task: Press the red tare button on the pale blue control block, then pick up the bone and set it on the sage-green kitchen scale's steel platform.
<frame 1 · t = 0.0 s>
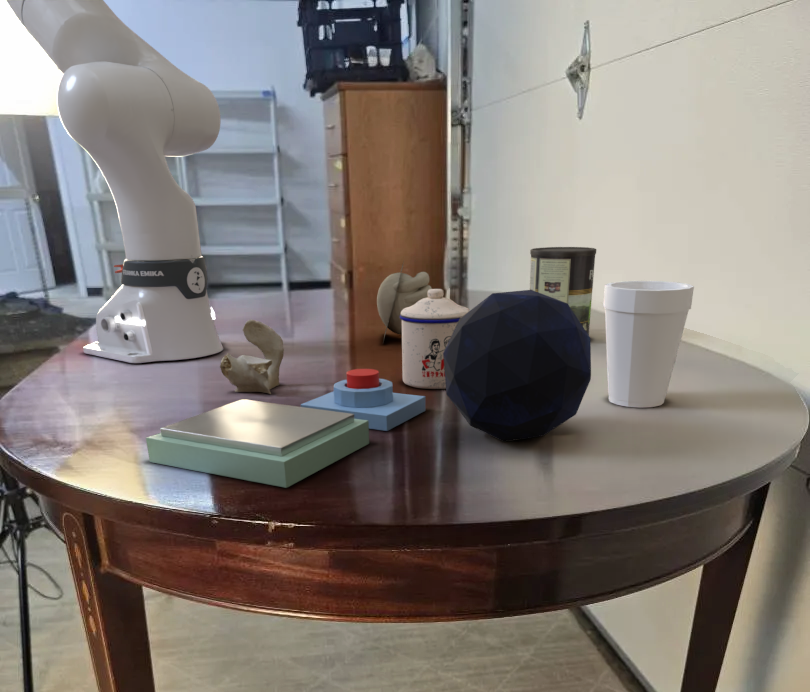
decorative orb: (514, 436, 79), on the table
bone: (259, 392, 98), on the table
decorative object: (407, 340, 130), on the table
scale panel: (364, 415, 87), on the table
tare button: (363, 379, 86), point 4 cm above the table, slide at 0.1 cm
coffee can: (557, 340, 128), on the table
teacup with lid: (444, 382, 102), on the table
scale: (262, 452, 75), on the table
foam cup: (635, 402, 91), on the table
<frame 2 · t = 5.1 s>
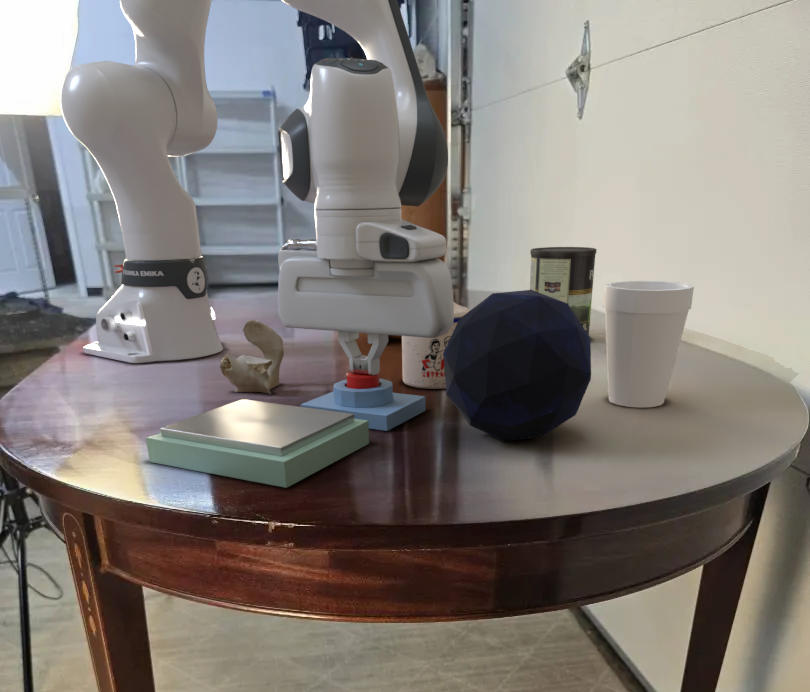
hand: (364, 373, 85), 5 cm above the table, tool pointing down, fingers closed, pressing on tare button
tare button: (363, 381, 86), point 4 cm above the table, slide at -0.1 cm, touching gripper
everything else where it was.
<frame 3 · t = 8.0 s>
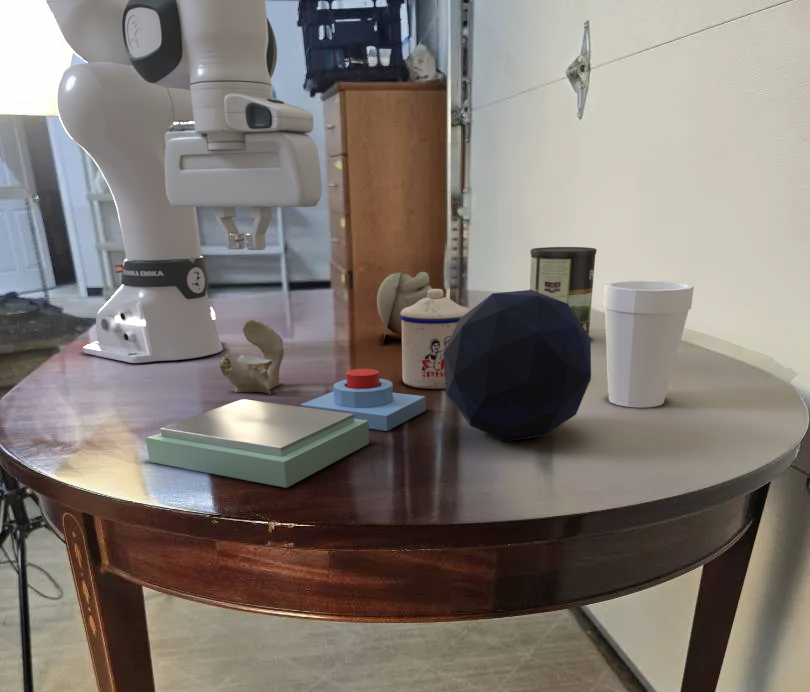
hand: (246, 249, 91), 17 cm above the table, tool pointing down, fingers closed
tare button: (363, 379, 86), point 4 cm above the table, slide at 0.1 cm
everything else where it was.
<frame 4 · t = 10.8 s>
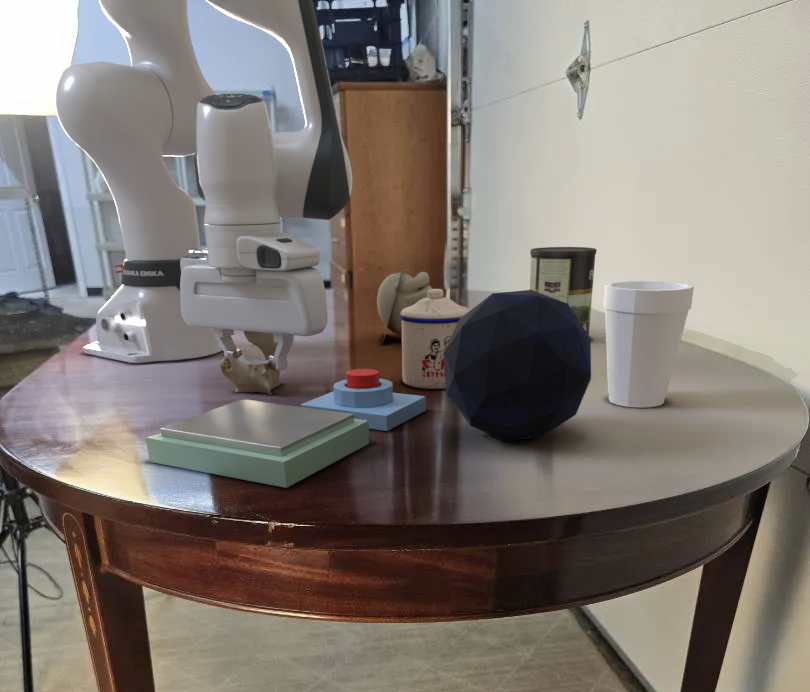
hand: (256, 366, 97), 3 cm above the table, tool pointing down, fingers closed on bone, 5 cm apart
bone: (259, 393, 98), on the table, touching gripper
everything else where it was.
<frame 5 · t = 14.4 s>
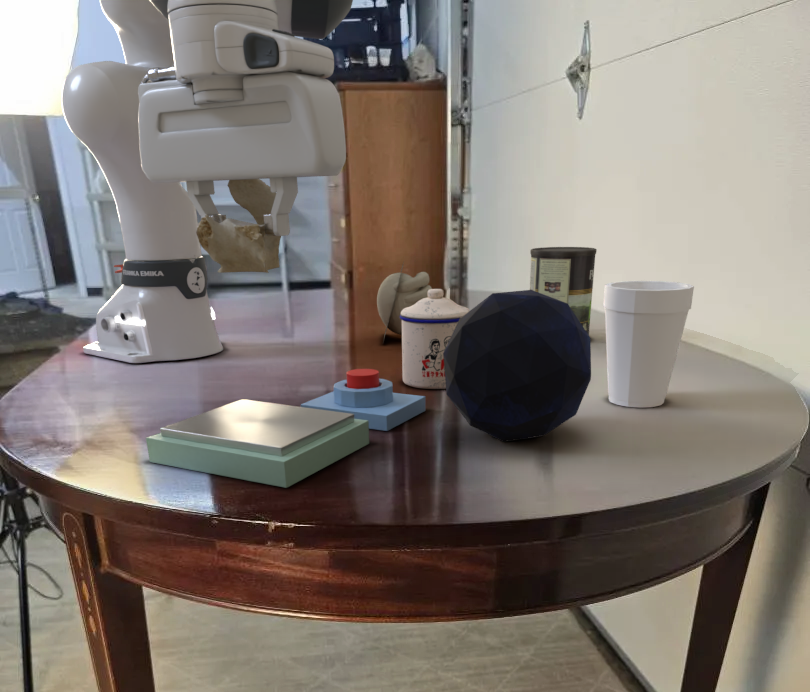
hand: (246, 235, 70), 20 cm above the table, tool pointing down, fingers closed on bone, 6 cm apart
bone: (252, 273, 71), point 16 cm above the table, touching gripper
everything else where it was.
when the fingers open (6 cm above the table, at t = 18.2 s): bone stays where it is, resting on scale.
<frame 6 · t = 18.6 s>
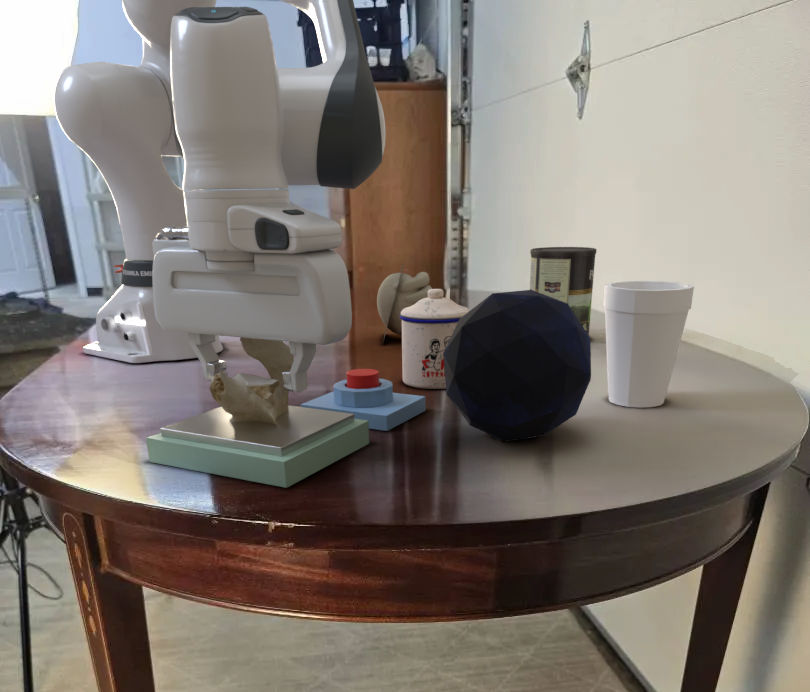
hand: (255, 385, 73), 7 cm above the table, tool pointing down, fingers open, 8 cm apart
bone: (262, 423, 74), point 3 cm above the table, touching scale
everything else where it was.
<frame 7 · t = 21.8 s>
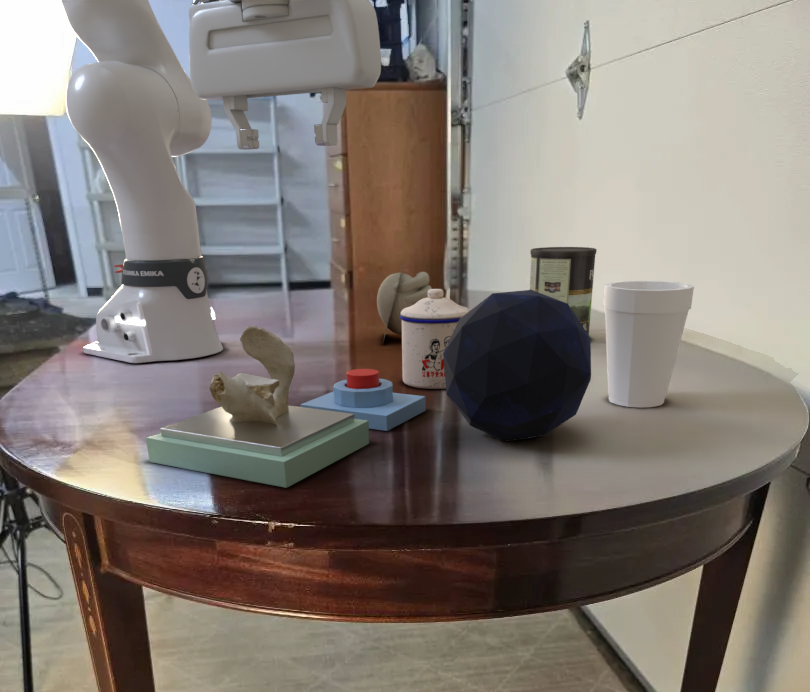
hand: (286, 147, 76), 27 cm above the table, tool pointing down, fingers open, 8 cm apart
nothing on the table moved.
at the end: tare button pushed in 1.1 cm at the most during the clip, back to where it started at the end; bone inside the target area on the scale (0.3 cm from its centre), point 3.0 cm above the scale's base; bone tilted 0° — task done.
